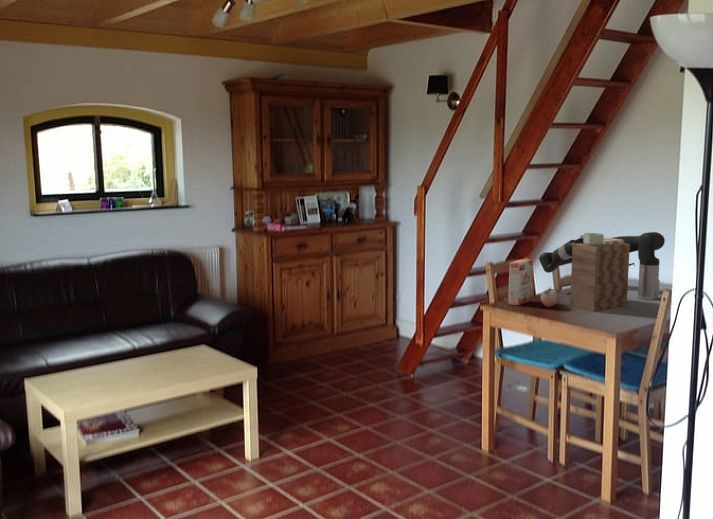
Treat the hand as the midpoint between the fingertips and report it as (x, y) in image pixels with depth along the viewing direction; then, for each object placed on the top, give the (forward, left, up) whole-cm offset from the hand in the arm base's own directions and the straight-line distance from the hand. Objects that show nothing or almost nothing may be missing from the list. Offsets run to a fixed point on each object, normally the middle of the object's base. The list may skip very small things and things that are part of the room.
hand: (593, 235), depth 354 cm
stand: (+6, +10, -33) cm, 35 cm away
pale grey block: (+12, +10, -3) cm, 15 cm away
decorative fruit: (+28, 0, -33) cm, 43 cm away
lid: (0, +3, -3) cm, 4 cm away
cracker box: (+32, -16, -33) cm, 49 cm away
